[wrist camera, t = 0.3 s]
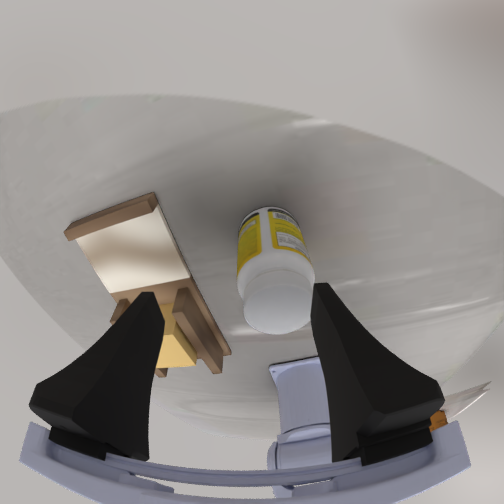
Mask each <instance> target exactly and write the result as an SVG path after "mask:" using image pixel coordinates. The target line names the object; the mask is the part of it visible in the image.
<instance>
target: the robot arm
mask: <svg viewBox="0 0 504 504" xmlns="http://www.w3.org/2000/svg"><path fill="white" fill-rule="evenodd" d="M310 318H311V325H312V331H313V337H314V341H315V344H316V348H317V352H318V356H319V357H315V358H310V359H305V360H300V361H295V362H289V363H284V364H278V365H272V366H270V367H269V371H270V373H271V375H272V378H273V380H274V382H275V385H276V387H277V389H278V399H279V412H280V426H281V434H280V435H277V440H278V441H277V442H273V443H272V445H271V447H270V448H269V450H268V455H267V466H268V470H255V471H229V470H207V469H195V468H185V467H177V466H169V465H162V464H156V463H150V462H146V461H147V460H148V459H149V442H148V424H149V405H150V395H151V387H152V382H153V377H154V373H155V369H156V365H157V361H158V358H159V354H160V350H161V346H162V342H163V336H164V328H165V319H164V317H163V315H162V312H161V310H160V307H159V304H158V302H157V299H156V297H155V294H154V291H152V292H141V293H140V294H139V295H138V296H137V298H136V299H135V300H134V301H133V302H132V303H131V305H130V306H129V307H128V308H127V309H126V310H125V312H124V313H123V314H122V315H121V316H120V317H119V318H118V320H117V321H116V322H115V323H114V324H113V325H112V326H111V327H110V328H109V329H108V331H107V332H106V333H105V334H104V335H103V336H102V337H101V338H100V339H99V340H98V341H97V342H96V343H95V344H94V345H93V346H92V347H90V348H89V349H88V350H87V351H86V352H85V353H84V354H82V355H81V356H80V357H79V358H77V359H76V360H75V361H73V362H72V363H71V364H70V365H68V366H67V367H65V368H64V369H63V370H61V371H59V372H58V373H56V374H54V375H53V376H51V377H49V378H47V379H45V380H44V381H42V382H40V383H38V384H37V385H36V387H35V390H34V392H33V395H32V397H31V400H30V403H29V407H30V409H31V410H32V411H33V412H34V413H35V414H36V415H38V416H39V417H40V418H42V419H43V420H44V421H46V422H47V423H48V424H50V425H51V426H52V427H51V431H50V430H48V429H47V428H45V427H42V426H40V425H38V424H36V423H33V422H30V424H29V427H28V430H27V434H26V437H25V440H24V444H23V447H22V451H21V455H20V459H19V461H20V462H21V463H22V464H24V465H25V466H27V467H29V468H30V469H32V470H34V471H35V472H38V473H39V474H41V475H42V476H44V477H46V478H48V479H50V480H51V481H53V482H55V483H57V484H59V485H60V486H62V487H65V488H66V489H68V490H70V491H72V492H74V493H77V494H79V495H81V496H83V497H85V498H88V499H90V500H92V501H95V502H97V503H99V504H396V503H398V502H401V501H404V500H406V499H408V498H411V497H413V496H416V495H418V494H420V493H422V492H424V491H426V490H429V489H431V488H432V487H435V486H437V485H439V484H441V483H443V482H445V481H447V480H449V479H450V478H452V477H454V476H456V475H458V474H460V473H461V472H463V471H465V470H467V469H468V468H470V467H471V463H470V459H469V455H468V452H467V448H466V445H465V441H464V438H463V435H462V432H461V429H460V426H459V423H458V421H454V422H451V423H449V424H447V425H445V426H442V427H440V428H438V429H436V430H434V431H432V432H430V429H429V427H430V426H431V425H432V423H431V419H430V417H431V416H432V415H433V414H435V413H436V412H437V411H438V410H439V409H440V408H441V407H442V406H443V404H444V402H445V399H444V396H443V393H442V391H441V388H440V386H439V384H438V382H437V381H436V380H434V379H432V378H431V377H429V376H427V375H425V374H423V373H421V372H419V371H418V370H416V369H414V368H413V367H411V366H410V365H408V364H407V363H405V362H404V361H402V360H401V359H400V358H398V357H397V356H396V355H394V354H393V353H392V352H390V351H389V350H388V349H387V348H386V347H384V346H383V345H382V344H381V343H380V342H379V341H378V340H376V339H375V338H374V337H373V336H372V335H371V334H370V333H369V332H368V331H367V330H366V329H365V328H364V327H363V325H362V324H361V323H360V322H359V321H358V320H357V319H356V318H355V317H354V315H353V314H352V313H351V312H350V311H349V310H348V308H347V307H346V306H345V305H344V303H343V302H342V301H341V300H340V298H339V297H338V296H337V294H336V293H335V292H334V290H333V289H332V288H331V286H330V285H329V284H328V283H315V284H314V286H313V295H312V304H311V313H310ZM134 474H135V475H140V476H144V477H150V478H154V479H160V480H166V481H173V482H181V483H188V484H198V485H209V486H228V487H259V486H260V487H261V486H272V488H273V494H274V495H275V497H276V498H273V499H230V498H213V497H200V496H191V495H183V494H174V489H173V488H171V487H168V486H164V485H161V484H159V483H157V482H155V481H151V480H147V479H143V478H139V477H136V476H135V475H134ZM326 480H330V481H326ZM321 481H325V482H321ZM314 482H319V483H314ZM308 483H314V484H310V485H304V486H298V487H294V485H301V484H308Z"/></svg>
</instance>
